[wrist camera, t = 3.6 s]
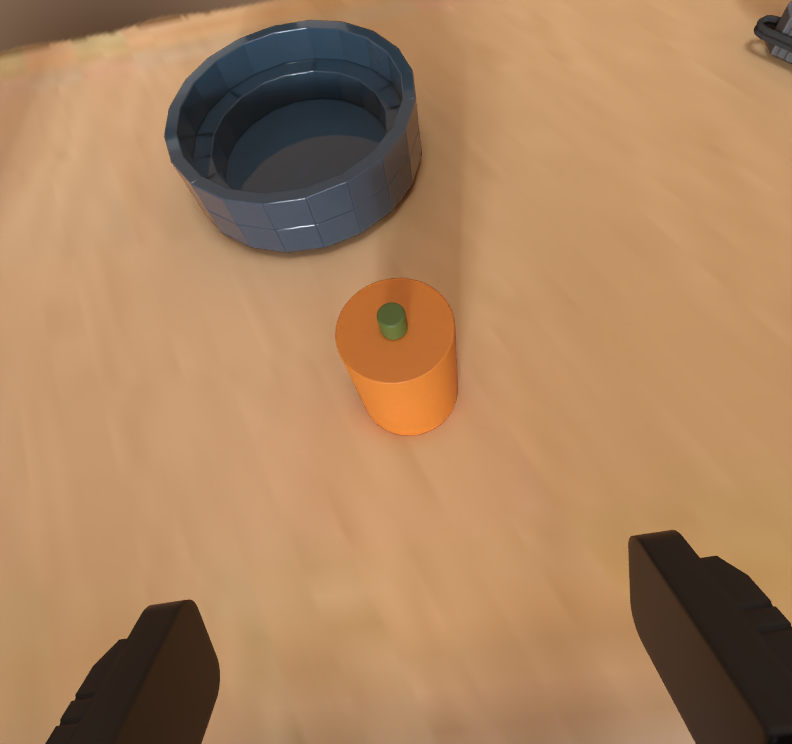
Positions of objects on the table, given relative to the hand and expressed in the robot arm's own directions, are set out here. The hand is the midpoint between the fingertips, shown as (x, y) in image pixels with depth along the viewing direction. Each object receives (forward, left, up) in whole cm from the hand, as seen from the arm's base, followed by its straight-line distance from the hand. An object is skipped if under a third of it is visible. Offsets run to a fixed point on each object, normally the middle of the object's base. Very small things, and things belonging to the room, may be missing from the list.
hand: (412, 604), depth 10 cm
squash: (-4, +10, -16) cm, 20 cm away
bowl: (-15, +25, -16) cm, 34 cm away
